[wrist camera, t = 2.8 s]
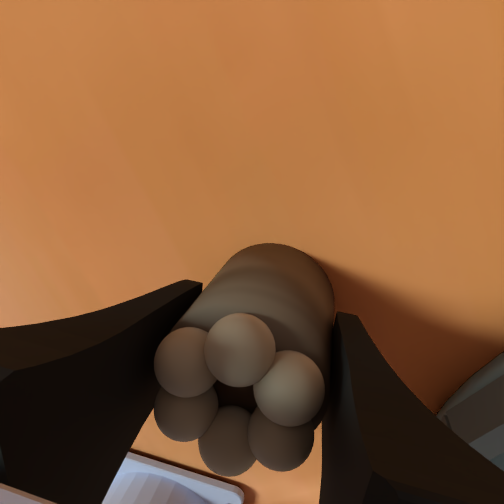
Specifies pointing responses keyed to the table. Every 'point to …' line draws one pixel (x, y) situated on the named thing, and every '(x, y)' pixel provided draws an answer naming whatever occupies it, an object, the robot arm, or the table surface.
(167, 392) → the brown ball-rimmed cylinder
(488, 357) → the table surface
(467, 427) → the round groove tray
